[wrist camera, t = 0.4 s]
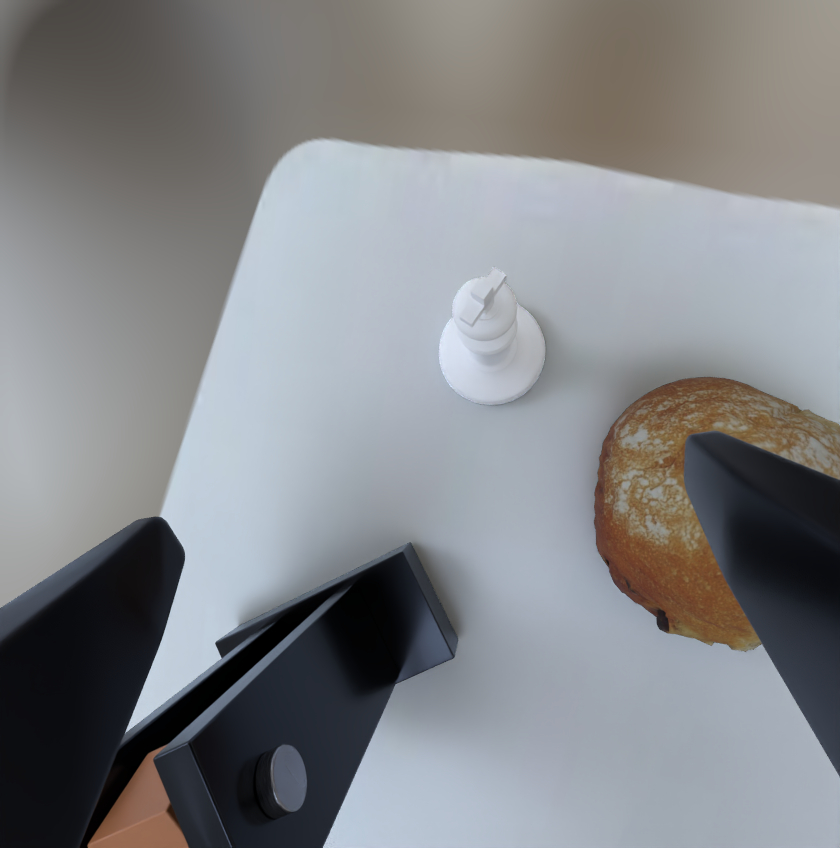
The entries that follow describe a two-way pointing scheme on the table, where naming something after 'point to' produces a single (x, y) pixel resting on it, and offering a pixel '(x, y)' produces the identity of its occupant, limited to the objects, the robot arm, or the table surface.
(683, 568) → the bread roll
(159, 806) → the brown black t-shaped piece
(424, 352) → the table surface
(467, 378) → the chess piece
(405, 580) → the stand
